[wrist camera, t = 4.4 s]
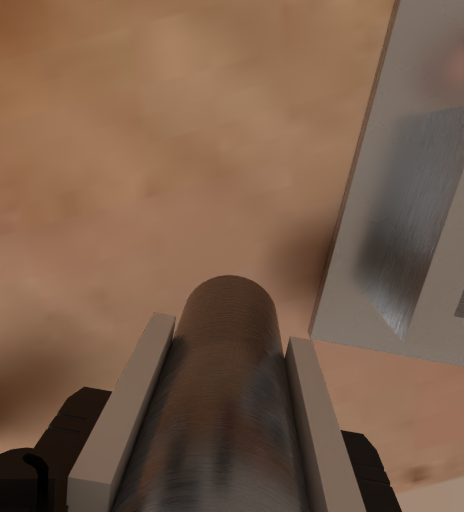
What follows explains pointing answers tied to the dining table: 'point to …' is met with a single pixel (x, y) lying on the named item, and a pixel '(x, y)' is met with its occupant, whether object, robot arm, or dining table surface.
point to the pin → (219, 413)
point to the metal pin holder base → (404, 199)
